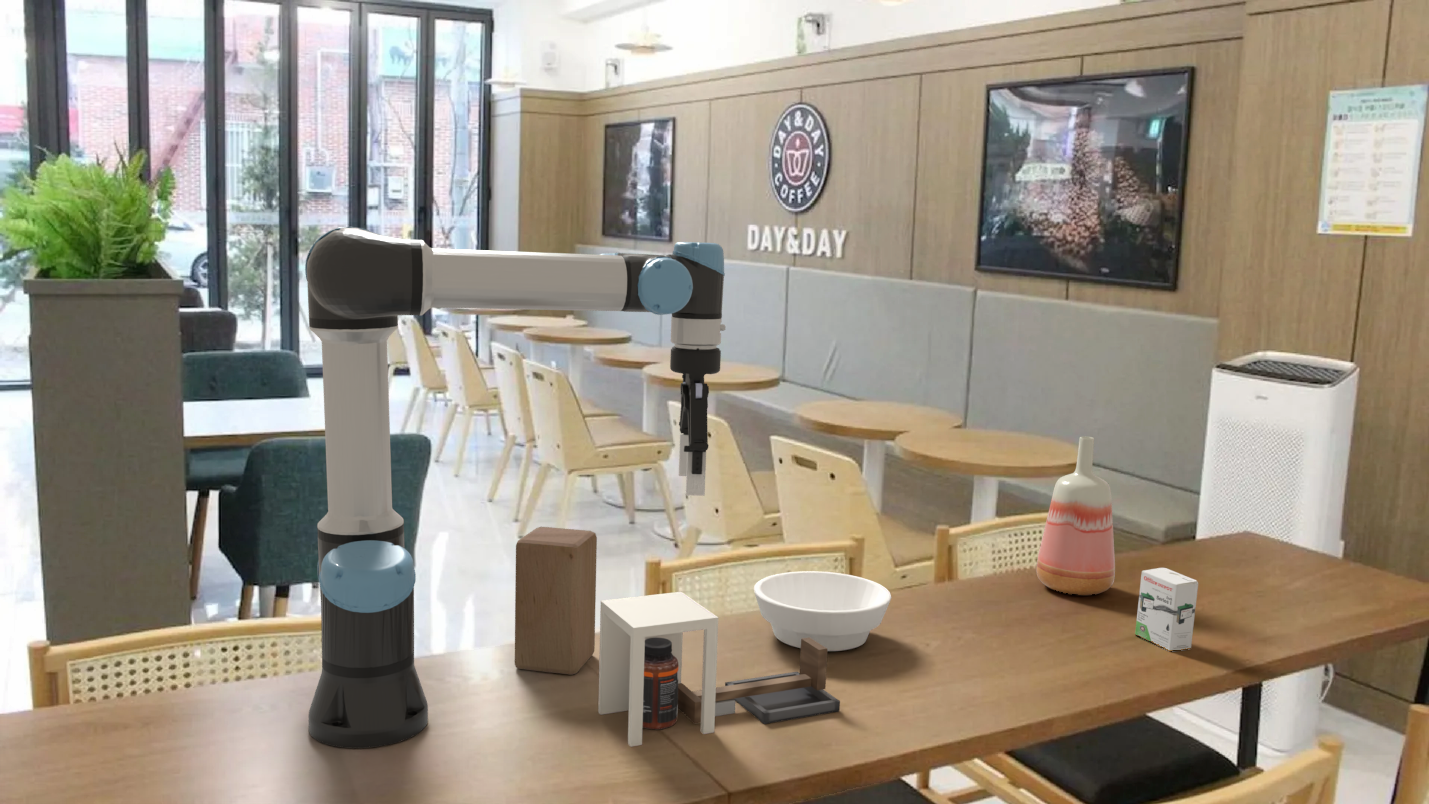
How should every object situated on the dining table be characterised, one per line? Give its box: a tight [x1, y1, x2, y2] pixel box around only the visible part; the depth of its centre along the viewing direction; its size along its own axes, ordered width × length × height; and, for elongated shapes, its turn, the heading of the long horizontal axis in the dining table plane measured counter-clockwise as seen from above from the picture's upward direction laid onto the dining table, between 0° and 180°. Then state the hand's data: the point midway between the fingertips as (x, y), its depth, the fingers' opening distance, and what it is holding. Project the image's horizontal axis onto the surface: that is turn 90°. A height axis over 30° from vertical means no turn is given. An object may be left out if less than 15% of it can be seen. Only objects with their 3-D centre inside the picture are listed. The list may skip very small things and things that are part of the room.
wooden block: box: [514, 526, 598, 676], centre depth 181 cm, size 10×10×20 cm
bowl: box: [753, 570, 892, 652], centre depth 197 cm, size 22×22×8 cm
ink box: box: [1134, 567, 1199, 651], centre depth 201 cm, size 9×5×12 cm, turn 23°
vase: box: [1035, 435, 1116, 596], centre depth 228 cm, size 14×14×30 cm
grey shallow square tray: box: [724, 671, 841, 725], centre depth 170 cm, size 12×12×2 cm
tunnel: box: [597, 591, 736, 748], centre depth 162 cm, size 18×12×16 cm
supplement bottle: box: [642, 638, 679, 730], centre depth 161 cm, size 6×6×11 cm
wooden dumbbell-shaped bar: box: [678, 637, 828, 725], centre depth 168 cm, size 21×7×8 cm, turn 116°
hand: (691, 485), depth 182 cm, fingers open, 13 cm apart
